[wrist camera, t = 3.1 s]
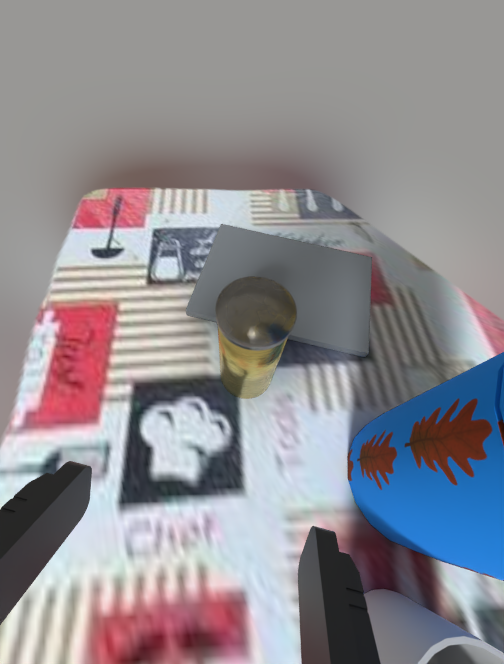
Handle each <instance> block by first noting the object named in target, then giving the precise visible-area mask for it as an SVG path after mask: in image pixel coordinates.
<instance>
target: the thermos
mask: <svg viewBox="0 0 504 664" xmlns="http://www.w3.org/2000/svg"><path fill="white" fill-rule="evenodd" d="M348 481H349V484H350V487H351V490H352V493H353V496H354V499H355V502H356V504H357V505H358V507H359V508H360V510H361V511H362V513H363V514H364V516H365V517H366V519H367V520H368V522H369V523H370V524H371V525H372V526H373V527H374V528H375V529H377V530H378V531H379V532H380V533H381V534H383V535H384V536H385V537H386V538H387V539H389V540H390V541H393V542H395V543H397V544H400V545H402V546H404V547H407V548H409V549H412V550H414V551H416V552H419V553H422V554H424V555H427V556H429V557H432V558H435V559H437V560H440V561H442V562H446V563H449V564H452V565H455V566H458V567H461V568H465V569H468V570H471V571H474V572H477V573H480V574H484V575H487V576H490V577H493V578H496V579H499V580H503V581H504V352H503V353H501V354H499V355H497V356H495V357H493V358H491V359H489V360H487V361H485V362H483V363H481V364H479V365H477V366H475V367H473V368H471V369H470V370H468V371H466V372H464V373H462V374H460V375H458V376H456V377H454V378H452V379H450V380H448V381H446V382H444V383H442V384H440V385H438V386H436V387H434V388H432V389H430V390H428V391H427V392H425V393H423V394H421V395H419V396H417V397H415V398H413V399H411V400H409V401H407V402H405V403H403V404H401V405H399V406H397V407H395V408H393V409H391V410H389V411H387V412H385V413H384V414H382V415H380V416H379V417H377V418H376V419H374V420H373V421H371V422H370V423H368V424H367V425H366V426H365V427H364V428H363V429H362V430H361V431H360V432H359V433H358V434H357V436H356V437H355V438H354V440H353V443H352V446H351V448H350V451H349V454H348Z"/></svg>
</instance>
